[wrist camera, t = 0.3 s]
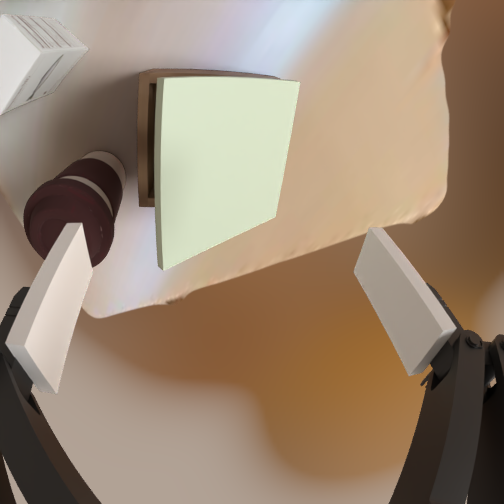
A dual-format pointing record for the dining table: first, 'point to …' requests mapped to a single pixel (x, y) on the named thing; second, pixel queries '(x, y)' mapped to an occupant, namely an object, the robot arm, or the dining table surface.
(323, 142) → the dining table surface
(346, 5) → the dining table surface
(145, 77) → the box
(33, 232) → the coffee cup
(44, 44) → the supplement box
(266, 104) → the lid
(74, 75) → the dining table surface
